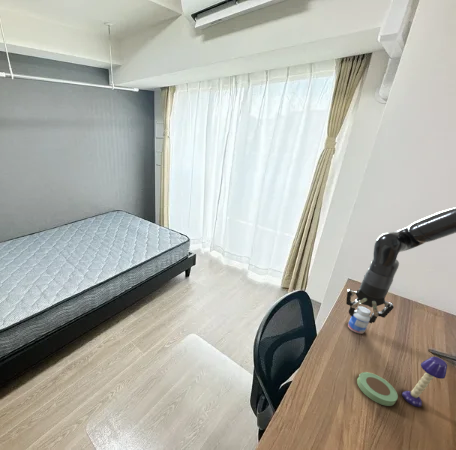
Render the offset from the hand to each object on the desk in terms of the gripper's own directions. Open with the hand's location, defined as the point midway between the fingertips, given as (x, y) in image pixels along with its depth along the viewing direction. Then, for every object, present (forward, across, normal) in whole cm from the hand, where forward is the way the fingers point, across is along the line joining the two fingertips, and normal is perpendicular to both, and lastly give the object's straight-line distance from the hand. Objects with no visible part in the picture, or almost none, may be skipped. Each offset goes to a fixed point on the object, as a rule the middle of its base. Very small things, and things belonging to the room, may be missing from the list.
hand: (360, 318), depth 96 cm
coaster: (+5, +5, -28) cm, 29 cm away
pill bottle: (+6, 0, 0) cm, 6 cm away
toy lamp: (+6, +14, -25) cm, 29 cm away
